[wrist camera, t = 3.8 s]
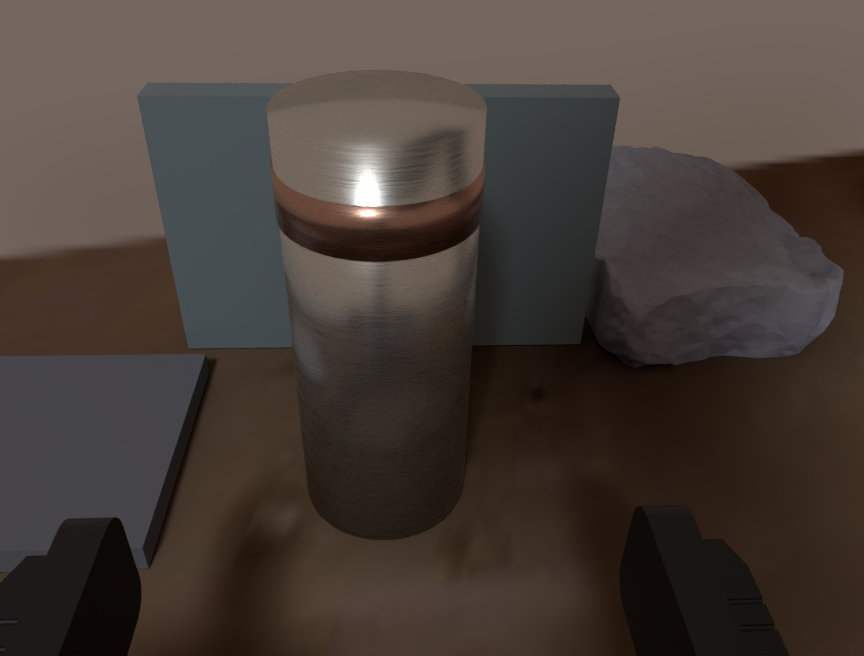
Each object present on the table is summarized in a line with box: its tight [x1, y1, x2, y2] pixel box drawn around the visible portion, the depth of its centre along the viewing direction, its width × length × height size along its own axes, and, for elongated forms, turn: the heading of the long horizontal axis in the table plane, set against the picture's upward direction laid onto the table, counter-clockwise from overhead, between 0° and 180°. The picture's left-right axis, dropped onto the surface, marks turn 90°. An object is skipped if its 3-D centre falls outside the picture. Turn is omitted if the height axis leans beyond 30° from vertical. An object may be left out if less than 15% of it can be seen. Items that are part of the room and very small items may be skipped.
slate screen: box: [137, 83, 620, 349], centre depth 25 cm, size 14×1×9 cm, turn 93°
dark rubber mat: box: [0, 354, 209, 572], centre depth 22 cm, size 8×8×1 cm
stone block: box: [585, 146, 844, 367], centre depth 31 cm, size 12×5×10 cm
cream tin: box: [266, 70, 487, 540], centre depth 19 cm, size 5×5×11 cm
